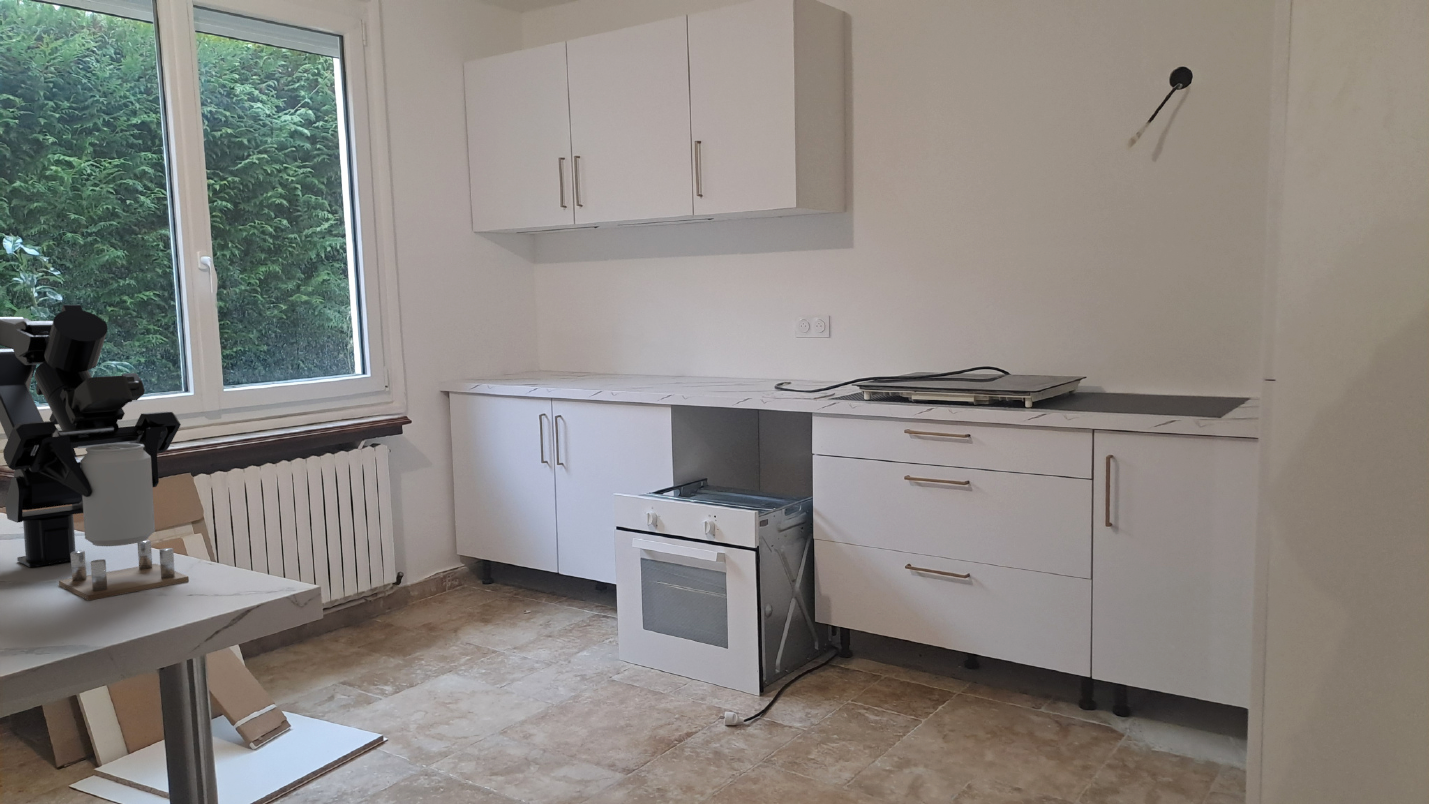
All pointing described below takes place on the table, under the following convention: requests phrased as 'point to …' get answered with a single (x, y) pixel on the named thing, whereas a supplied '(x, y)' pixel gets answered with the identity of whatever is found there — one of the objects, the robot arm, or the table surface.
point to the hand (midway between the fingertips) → (123, 489)
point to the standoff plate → (122, 574)
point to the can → (118, 495)
